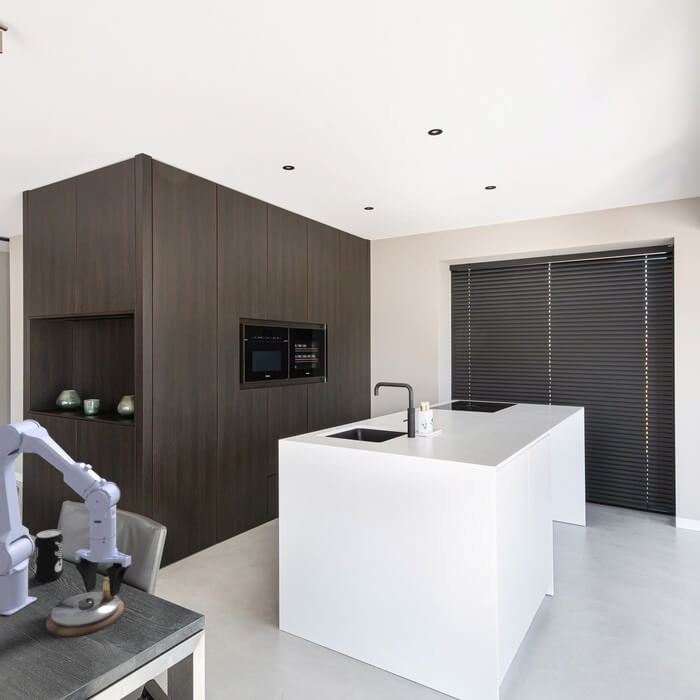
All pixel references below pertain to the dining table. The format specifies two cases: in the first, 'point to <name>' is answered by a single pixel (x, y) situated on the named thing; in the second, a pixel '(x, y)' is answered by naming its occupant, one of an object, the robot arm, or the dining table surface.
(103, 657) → the dining table surface
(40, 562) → the beverage can
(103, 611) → the handwheel
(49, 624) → the wheel base
